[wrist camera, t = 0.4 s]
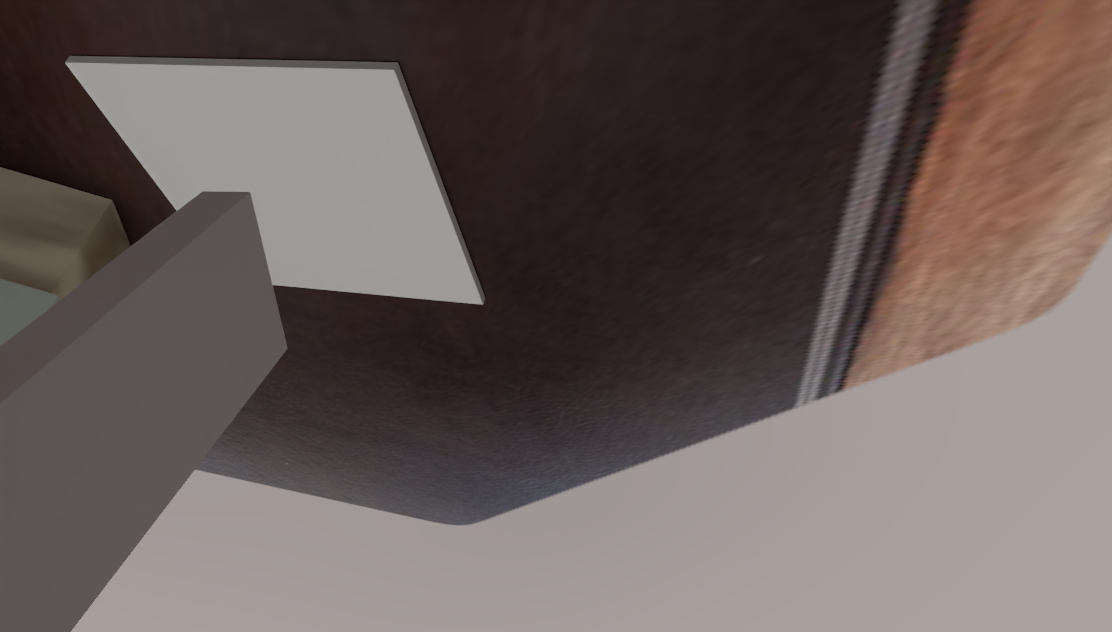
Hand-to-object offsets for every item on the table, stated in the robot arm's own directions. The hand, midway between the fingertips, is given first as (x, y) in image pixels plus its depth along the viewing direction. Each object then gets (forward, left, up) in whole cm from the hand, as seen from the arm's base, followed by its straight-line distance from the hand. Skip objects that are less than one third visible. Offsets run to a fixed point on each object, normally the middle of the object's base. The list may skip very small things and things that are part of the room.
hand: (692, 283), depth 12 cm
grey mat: (+15, -19, -15) cm, 29 cm away
